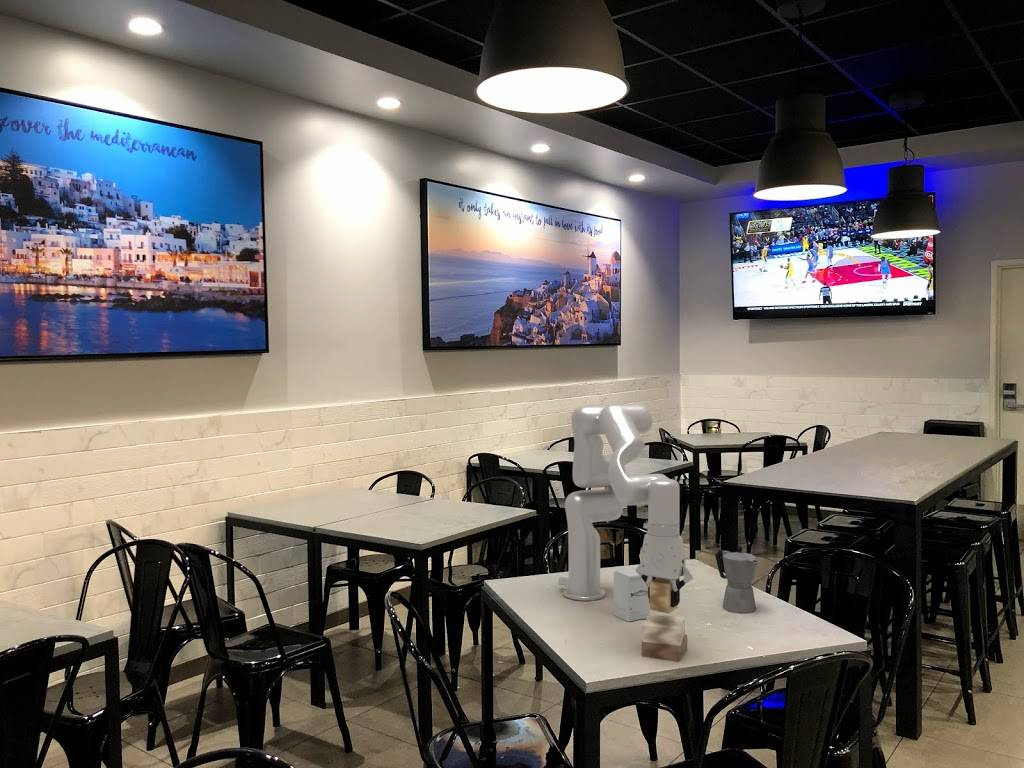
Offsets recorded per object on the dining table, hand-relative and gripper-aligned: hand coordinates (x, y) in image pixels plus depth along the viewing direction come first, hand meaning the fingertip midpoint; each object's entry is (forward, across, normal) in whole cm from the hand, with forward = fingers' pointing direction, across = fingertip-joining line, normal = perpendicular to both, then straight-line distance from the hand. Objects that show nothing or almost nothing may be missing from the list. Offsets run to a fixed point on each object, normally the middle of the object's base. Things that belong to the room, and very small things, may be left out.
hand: (663, 603), depth 204 cm
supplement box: (+12, -19, +20) cm, 30 cm away
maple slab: (+9, 0, 0) cm, 9 cm away
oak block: (+1, 0, 0) cm, 1 cm away
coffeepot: (+12, +2, +44) cm, 46 cm away
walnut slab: (+13, 0, 0) cm, 13 cm away
